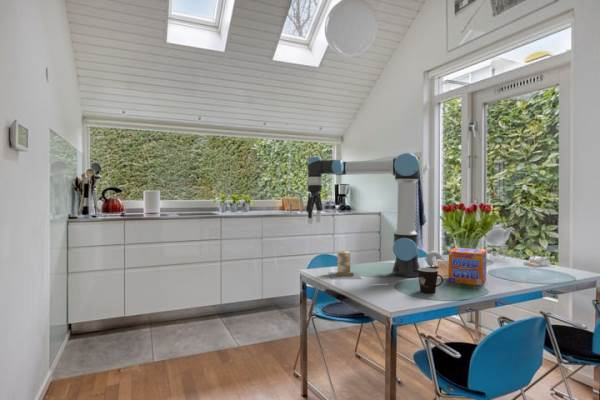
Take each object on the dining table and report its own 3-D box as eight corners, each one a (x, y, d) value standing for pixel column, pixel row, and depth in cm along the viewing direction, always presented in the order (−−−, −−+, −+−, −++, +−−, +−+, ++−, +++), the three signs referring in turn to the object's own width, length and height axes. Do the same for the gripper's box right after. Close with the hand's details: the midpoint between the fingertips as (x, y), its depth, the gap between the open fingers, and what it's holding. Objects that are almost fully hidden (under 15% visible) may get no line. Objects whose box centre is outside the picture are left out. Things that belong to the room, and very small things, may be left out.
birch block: (348, 273, 199) (348, 251, 198) (350, 275, 193) (350, 253, 192) (337, 273, 199) (337, 251, 198) (338, 275, 193) (339, 253, 192)
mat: (356, 273, 201) (356, 269, 201) (362, 280, 185) (362, 275, 185) (327, 273, 200) (327, 269, 200) (331, 280, 184) (331, 275, 184)
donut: (440, 266, 220) (440, 250, 220) (443, 267, 217) (443, 250, 217) (424, 267, 219) (425, 250, 218) (427, 268, 215) (428, 251, 215)
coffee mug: (414, 289, 168) (414, 267, 167) (432, 289, 168) (432, 267, 168) (425, 296, 156) (425, 273, 156) (444, 296, 157) (444, 273, 156)
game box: (482, 286, 174) (482, 253, 173) (448, 281, 182) (448, 251, 182) (486, 279, 187) (486, 249, 187) (454, 276, 195) (454, 247, 195)
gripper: (315, 185, 214) (315, 221, 215) (300, 184, 191) (300, 224, 191) (327, 185, 211) (327, 221, 212) (313, 184, 188) (313, 225, 189)
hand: (314, 223), depth 202 cm, fingers open, 13 cm apart
